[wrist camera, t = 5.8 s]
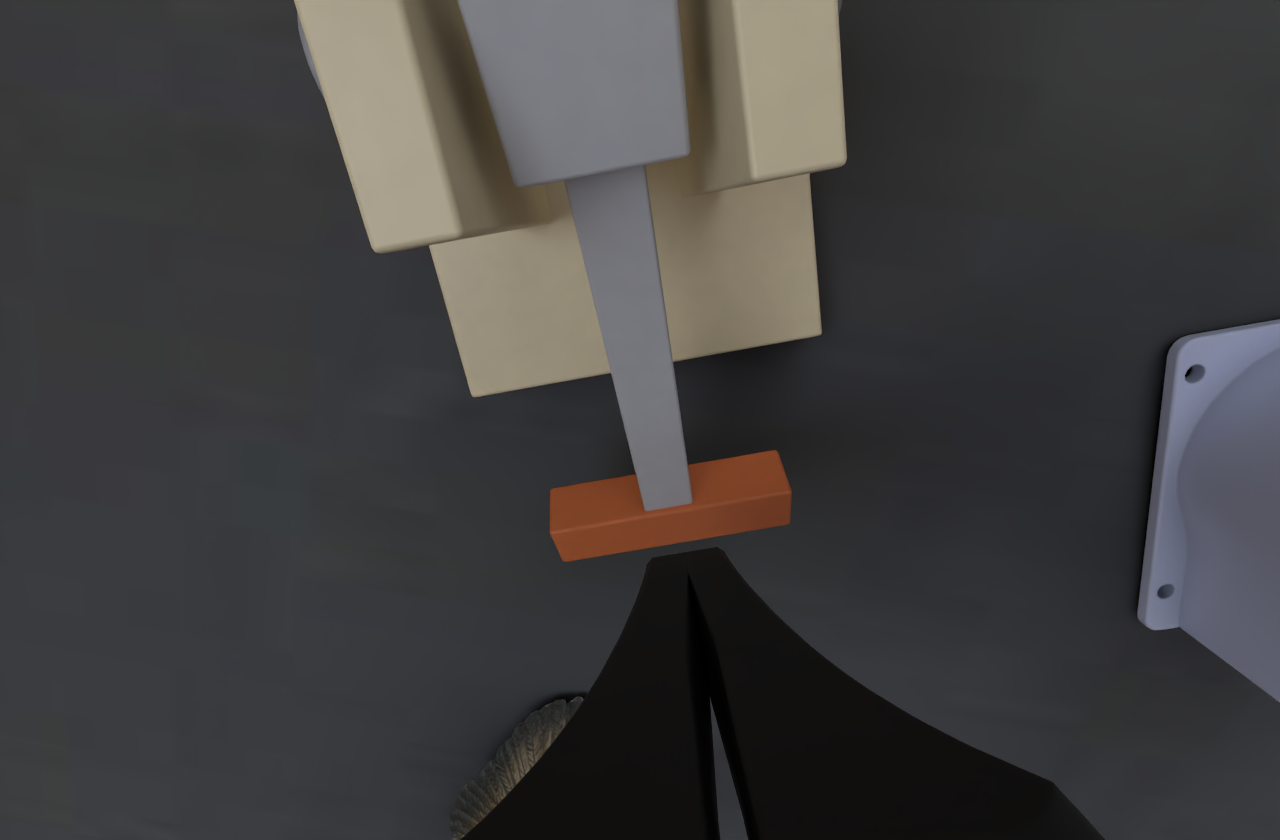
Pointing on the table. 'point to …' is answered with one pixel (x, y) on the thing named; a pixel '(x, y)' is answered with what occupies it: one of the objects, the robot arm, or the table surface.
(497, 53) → the lever
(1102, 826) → the table surface
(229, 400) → the table surface
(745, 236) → the beige mounting bracket
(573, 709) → the eagle figurine
